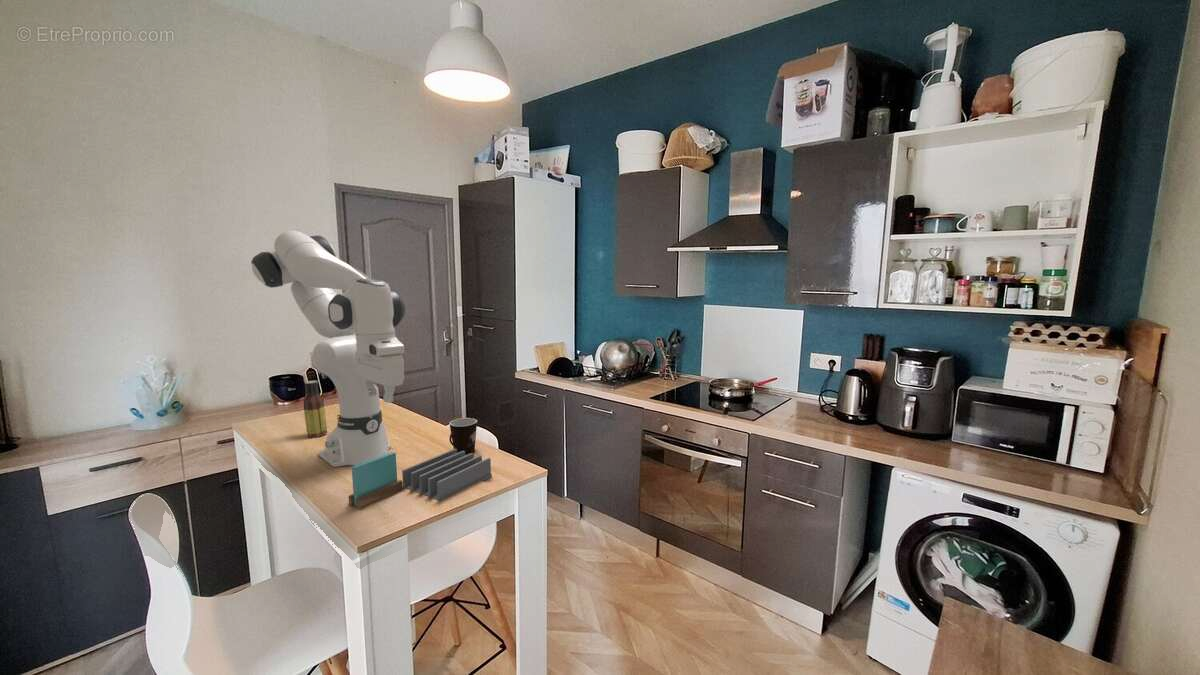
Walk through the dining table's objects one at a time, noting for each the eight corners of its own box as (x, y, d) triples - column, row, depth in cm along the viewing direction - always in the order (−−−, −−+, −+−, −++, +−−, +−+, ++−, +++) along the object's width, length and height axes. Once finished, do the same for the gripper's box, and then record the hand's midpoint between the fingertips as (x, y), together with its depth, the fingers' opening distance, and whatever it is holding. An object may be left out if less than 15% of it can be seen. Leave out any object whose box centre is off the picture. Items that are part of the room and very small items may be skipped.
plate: (354, 505, 111) (351, 466, 110) (394, 487, 120) (392, 451, 119) (357, 506, 110) (354, 467, 109) (397, 489, 120) (395, 452, 118)
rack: (402, 489, 121) (401, 469, 121) (455, 465, 137) (454, 448, 136) (440, 503, 114) (439, 482, 113) (491, 476, 129) (491, 458, 128)
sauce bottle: (322, 431, 167) (318, 378, 165) (330, 434, 164) (326, 380, 161) (303, 436, 162) (298, 381, 159) (310, 439, 158) (306, 384, 156)
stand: (347, 506, 112) (346, 494, 111) (391, 487, 122) (390, 476, 122) (361, 513, 109) (360, 500, 108) (405, 493, 119) (404, 481, 119)
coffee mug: (468, 444, 154) (467, 416, 153) (483, 450, 148) (482, 421, 147) (436, 455, 145) (435, 424, 144) (452, 461, 140) (450, 430, 138)
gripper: (346, 342, 117) (350, 394, 119) (380, 349, 103) (385, 408, 105) (371, 340, 122) (375, 390, 123) (407, 346, 108) (411, 402, 110)
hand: (380, 398), depth 114 cm, fingers open, 8 cm apart
